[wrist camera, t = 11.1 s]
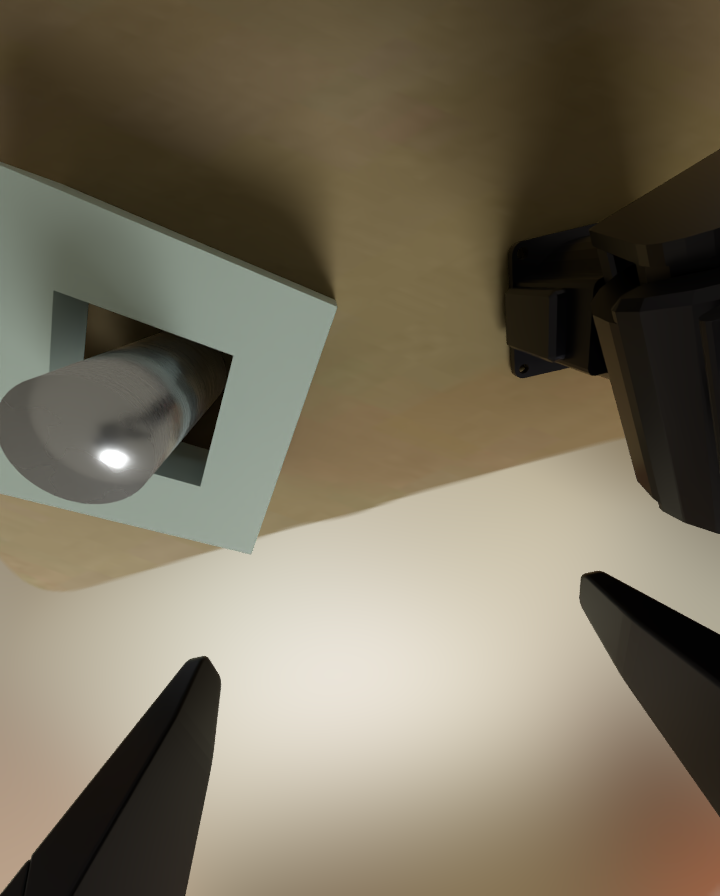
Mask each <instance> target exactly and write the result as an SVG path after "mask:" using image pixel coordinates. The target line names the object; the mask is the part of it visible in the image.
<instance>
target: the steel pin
mask: <svg viewBox="0 0 720 896" xmlns="http://www.w3.org/2000/svg"><path fill="white" fill-rule="evenodd" d="M225 383H226V367H225V363H224V361H223V358H222V356H221V354H220V353H219V351H218V350H217V349H214V348H211V347H208V346H206V345H203V344H200V343H197V342H195V341H192V340H189V339H186V338H184V337H181V336H178V335H175V334H173V333H170V332H167V331H164V332H161V333H158V334H155V335H153V336H150V337H147V338H144V339H141V340H138V341H136V342H133V343H130V344H127V345H124V346H122V347H119V348H116V349H113V350H110V351H108V352H105V353H102V354H99V355H96V356H93V357H91V358H88V359H85V360H82V361H79V362H77V363H74V364H71V365H68V366H65V367H63V368H60V369H57V370H54V371H51V372H48V373H46V374H43V375H40V376H37V377H34V378H32V379H29V380H26V381H23V382H21V383H20V384H18V385H16V386H14V387H13V388H12V389H11V390H9V391H8V392H7V394H6V395H5V396H4V397H3V398H2V400H1V402H0V446H1V448H2V450H3V452H4V454H5V456H6V457H7V459H8V460H9V461H10V463H11V464H12V465H13V466H14V467H15V469H16V470H17V471H18V472H19V473H20V474H21V475H23V476H24V477H25V478H26V479H27V480H29V481H30V482H31V483H33V484H34V485H36V486H37V487H39V488H40V489H42V490H44V491H46V492H48V493H50V494H52V495H54V496H57V497H59V498H62V499H66V500H69V501H73V502H78V503H85V504H107V503H112V502H117V501H120V500H123V499H125V498H128V497H130V496H132V495H133V494H135V493H136V492H137V491H139V490H140V489H141V488H142V487H143V486H144V485H145V483H146V482H147V481H148V480H149V479H150V478H151V476H152V475H153V474H154V473H155V472H156V470H157V469H158V468H159V467H160V466H161V464H162V463H163V462H164V461H165V460H166V458H167V457H168V456H169V455H170V454H171V453H172V451H173V450H174V449H175V448H176V447H177V445H178V444H179V443H180V442H181V441H182V439H183V438H184V437H185V436H186V435H187V433H188V432H189V431H190V430H191V429H192V428H193V426H194V425H195V424H196V423H197V422H198V420H199V419H200V418H201V417H202V416H203V414H204V413H205V412H206V411H207V410H208V408H209V407H210V406H211V405H212V404H213V403H214V401H215V400H216V399H217V398H218V397H219V395H220V394H221V393H222V391H223V389H224V386H225Z"/></svg>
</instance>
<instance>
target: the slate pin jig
mask: <svg viewBox="0 0 720 896" xmlns="http://www.w3.org/2000/svg"><path fill="white" fill-rule="evenodd" d="M89 303H90V304H93V305H95V306H98V307H101V308H104V309H107V310H109V311H112V312H115V313H118V314H120V315H123V316H126V317H129V318H131V319H134V320H137V321H140V322H142V323H145V324H148V325H151V326H153V327H156V328H159V329H162V330H164V331H167V332H170V333H173V334H175V335H178V336H181V337H184V338H186V339H189V340H192V341H195V342H197V343H200V344H203V345H206V346H208V347H211V348H214V349H217V350H219V351H222V352H225V353H228V354H230V355H233V359H232V363H231V367H230V371H229V375H228V379H227V383H226V387H225V391H224V395H223V399H222V403H221V407H220V411H219V415H218V419H217V423H216V427H215V431H214V435H213V439H212V442H211V446H210V450H207V449H204V448H200V447H197V446H194V445H190V444H187V443H184V442H180V443H179V444H178V445H177V447H176V448H175V449H174V450H173V451H172V453H171V454H170V455H169V456H168V457H167V458H166V460H165V461H164V462H163V463H162V464H161V466H160V467H159V468H158V469H157V470H156V472H155V473H154V474H153V475H152V476H151V478H150V479H149V480H148V481H147V482H146V483H145V485H144V486H143V487H142V488H141V489H140V490H139V491H137V492H136V493H135V494H133V495H132V496H130V497H128V498H125V499H123V500H120V501H117V502H112V503H107V504H85V503H78V502H73V501H69V500H66V499H62V498H59V497H57V496H54V495H52V494H50V493H48V492H46V491H44V490H42V489H40V488H39V487H37V486H36V485H34V484H33V483H31V482H30V481H29V480H27V479H26V478H25V477H24V476H23V475H21V474H20V473H19V472H18V471H17V470H16V469H15V467H14V466H13V465H12V464H11V463H10V461H9V460H8V459H7V457H6V456H5V454H4V452H3V450H2V448H1V446H0V494H4V495H8V496H12V497H17V498H21V499H25V500H29V501H33V502H37V503H41V504H45V505H49V506H54V507H58V508H62V509H66V510H70V511H74V512H78V513H82V514H86V515H91V516H95V517H99V518H103V519H107V520H111V521H115V522H119V523H123V524H128V525H132V526H136V527H140V528H144V529H148V530H152V531H156V532H160V533H165V534H169V535H173V536H177V537H181V538H185V539H189V540H193V541H197V542H202V543H206V544H210V545H214V546H218V547H222V548H226V549H230V550H235V551H239V552H243V553H247V554H251V553H252V551H253V548H254V545H255V542H256V539H257V536H258V533H259V531H260V528H261V525H262V522H263V519H264V516H265V513H266V510H267V508H268V505H269V502H270V499H271V496H272V493H273V490H274V487H275V485H276V482H277V479H278V476H279V473H280V470H281V467H282V464H283V462H284V459H285V456H286V453H287V450H288V447H289V444H290V442H291V439H292V436H293V433H294V430H295V427H296V424H297V421H298V419H299V416H300V413H301V410H302V407H303V404H304V401H305V398H306V396H307V393H308V390H309V387H310V384H311V381H312V378H313V375H314V373H315V370H316V367H317V364H318V361H319V358H320V355H321V352H322V350H323V347H324V344H325V341H326V338H327V335H328V332H329V330H330V327H331V324H332V321H333V318H334V315H335V312H336V309H337V304H336V300H334V299H332V298H330V297H327V296H325V295H322V294H320V293H318V292H315V291H313V290H311V289H308V288H306V287H304V286H301V285H299V284H297V283H294V282H292V281H289V280H287V279H285V278H282V277H280V276H278V275H275V274H273V273H271V272H268V271H266V270H264V269H261V268H259V267H256V266H254V265H252V264H249V263H247V262H245V261H242V260H240V259H238V258H235V257H233V256H231V255H228V254H226V253H223V252H221V251H219V250H216V249H214V248H212V247H209V246H207V245H205V244H202V243H200V242H198V241H195V240H193V239H191V238H188V237H186V236H183V235H181V234H179V233H176V232H174V231H172V230H169V229H167V228H165V227H162V226H160V225H158V224H155V223H153V222H150V221H148V220H146V219H143V218H141V217H139V216H136V215H134V214H132V213H129V212H127V211H125V210H122V209H120V208H117V207H115V206H113V205H110V204H108V203H106V202H103V201H101V200H99V199H96V198H94V197H92V196H89V195H87V194H84V193H82V192H80V191H77V190H75V189H73V188H70V187H68V186H66V185H63V184H61V183H58V182H55V181H53V180H50V179H47V178H44V177H41V176H39V175H36V174H33V173H30V172H28V171H25V170H22V169H19V168H16V167H14V166H11V165H8V164H5V163H3V162H0V402H1V400H2V398H3V397H4V396H5V395H6V394H7V392H8V391H9V390H11V389H12V388H13V387H14V386H16V385H18V384H20V383H21V382H23V381H26V380H29V379H32V378H34V377H37V376H40V375H43V374H46V373H48V372H51V371H54V370H57V369H60V368H63V367H65V366H68V365H71V364H74V363H77V362H79V361H82V360H84V350H85V338H86V327H87V316H88V305H89Z"/></svg>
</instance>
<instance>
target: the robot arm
mask: <svg viewBox="0 0 720 896" xmlns="http://www.w3.org/2000/svg"><path fill="white" fill-rule="evenodd" d="M520 248H522V249H523V251H524V254H523V257H522V258H521V259H519V258H518V256H517V253H518V250H519V249H520ZM508 271H509V289H508V291H507V293H506V294H505V308H506V339H507V345H509V346H510V347H511V370H512V373H513V374H514V375H515V376H517V377H519V378H526V377H530V376H535V375H539V374H544V373H548V372H552V371H557V370H561V369H565V368H572V369H575V370H578V371H581V372H583V373H586V374H589V375H594V376H596V375H599V376H601V377H604V378H607V379H610V382H611V385H612V389H613V393H614V396H615V400H616V404H617V408H618V411H619V415H620V419H621V423H622V426H623V430H624V434H625V437H626V441H627V445H628V449H629V452H630V456H631V459H632V464H633V467H634V471H635V475H636V478H637V481H638V482H639V483H640V484H641V485H642V487H643V488H644V489H645V490H646V491H647V492H648V493H649V495H650V496H651V497H652V498H653V499H655V500H656V501H657V502H658V504H659V508H660V509H661V510H662V511H663V512H666V513H667V514H669V515H671V516H673V517H675V518H677V519H679V520H681V521H682V522H685V523H687V524H690V525H693V526H696V527H700V528H703V529H706V530H708V531H711V532H714V533H718V534H720V149H719V150H718V151H716V152H714V153H713V154H711V155H709V156H708V157H706V158H704V159H703V160H701V161H700V162H698V163H696V164H695V165H693V166H691V167H690V168H688V169H686V170H685V171H683V172H681V173H680V174H678V175H677V176H675V177H673V178H672V179H670V180H668V181H667V182H665V183H663V184H662V185H660V186H658V187H657V188H655V189H654V190H652V191H650V192H649V193H647V194H645V195H644V196H642V197H640V198H639V199H637V200H635V201H634V202H632V203H631V204H629V205H627V206H626V207H624V208H622V209H621V210H619V211H617V212H616V213H614V214H612V215H611V216H609V217H607V218H606V219H604V220H603V221H601V222H599V223H595V224H591V225H587V226H583V227H579V228H574V229H570V230H566V231H562V232H558V233H553V234H549V235H545V236H541V237H537V238H532V239H528V240H524V241H520V242H517V243H515V244H514V245H513V246H512V247H511V248H510V250H509V253H508ZM523 364H525V369H524V370H523V371H521V372H520V371H519V369H520V367H521V365H523ZM579 599H580V604H581V606H582V609H583V610H584V612H585V614H586V616H587V617H588V619H589V621H590V623H591V624H592V626H593V628H594V630H595V631H596V633H597V635H598V636H599V638H600V640H601V642H602V643H603V645H604V647H605V649H606V651H607V652H608V654H609V656H610V657H611V659H612V661H613V663H614V665H615V666H616V668H617V669H618V671H619V673H620V674H621V676H622V678H623V679H624V681H625V682H626V684H627V685H628V686H629V688H630V689H631V691H632V692H633V694H634V695H635V697H636V698H637V700H638V701H639V702H640V704H641V705H642V707H643V708H644V710H645V711H646V712H647V714H648V715H649V717H650V718H651V720H652V721H653V722H654V724H655V725H656V727H657V728H658V730H659V731H660V732H661V734H662V735H663V737H664V738H665V740H666V741H667V742H668V744H669V745H670V747H671V748H672V750H673V751H674V752H675V754H676V755H677V757H678V758H679V760H680V761H681V762H682V764H683V765H684V767H685V768H686V770H687V771H688V772H689V774H690V775H691V777H692V778H693V779H694V781H695V782H696V784H697V785H698V787H699V788H700V790H701V791H702V792H703V794H704V795H705V796H706V798H707V800H708V801H709V802H710V804H711V805H712V807H713V808H714V809H715V811H716V812H717V814H718V815H719V817H720V634H718V633H716V632H714V631H712V630H710V629H709V628H707V627H705V626H703V625H701V624H699V623H697V622H696V621H693V620H692V619H690V618H688V617H686V616H684V615H683V614H680V613H679V612H677V611H675V610H673V609H671V608H670V607H668V606H666V605H664V604H662V603H660V602H658V601H657V600H655V599H653V598H651V597H649V596H647V595H645V594H644V593H642V592H640V591H638V590H636V589H634V588H632V587H631V586H629V585H627V584H625V583H623V582H621V581H620V580H618V579H616V578H614V577H612V576H610V575H608V574H607V573H604V572H602V571H594V572H590V573H585V574H583V575H582V577H581V584H580V596H579ZM220 690H221V679H220V676H219V674H218V672H217V671H216V669H215V668H214V666H213V664H212V663H211V661H210V660H209V658H208V657H206V656H202V657H197V658H192V659H190V660H188V661H187V662H186V663H185V664H184V665H183V667H182V668H181V669H180V670H179V671H178V673H177V674H176V675H175V676H174V678H173V679H172V680H171V682H170V683H169V684H168V685H167V686H166V688H165V689H164V690H163V691H162V693H161V694H160V695H159V697H158V698H157V699H156V700H155V702H154V703H153V704H152V705H151V707H150V708H149V709H148V710H147V712H146V713H145V714H144V716H143V717H142V718H141V719H140V721H139V722H138V723H137V724H136V725H135V727H134V728H133V729H132V730H131V732H130V733H129V734H128V735H127V737H126V738H125V739H124V740H123V742H122V743H121V744H120V745H119V747H118V748H117V749H116V751H115V752H114V753H113V754H112V755H111V757H110V758H109V759H108V760H107V762H106V763H105V764H104V765H103V767H102V768H101V769H100V771H99V772H98V773H97V774H96V775H95V777H94V778H93V779H92V780H91V782H90V783H89V784H88V785H87V787H86V788H85V789H84V790H83V792H82V793H81V794H80V795H79V797H78V798H77V799H76V800H75V802H74V803H73V804H72V806H71V807H70V808H69V809H68V810H67V812H66V813H65V814H64V816H63V817H62V818H61V819H60V820H59V822H58V823H57V824H56V825H55V827H54V828H53V829H52V831H51V832H50V833H49V834H48V835H47V837H46V838H45V839H44V840H43V842H42V843H41V844H40V846H39V847H38V848H37V849H36V851H35V852H34V853H33V855H32V857H31V860H28V861H27V862H26V863H25V864H24V865H23V867H22V868H21V869H20V870H19V872H18V873H17V874H16V875H15V877H14V878H13V879H12V880H11V882H10V883H9V884H8V886H7V887H6V888H5V889H4V890H3V892H2V893H1V894H0V896H185V894H186V889H187V884H188V879H189V874H190V869H191V864H192V859H193V855H194V850H195V845H196V840H197V835H198V830H199V825H200V820H201V815H202V811H203V806H204V800H205V796H206V791H207V786H208V781H209V776H210V771H211V765H212V758H213V752H214V742H215V734H216V725H217V717H218V708H219V699H220Z"/></svg>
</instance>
